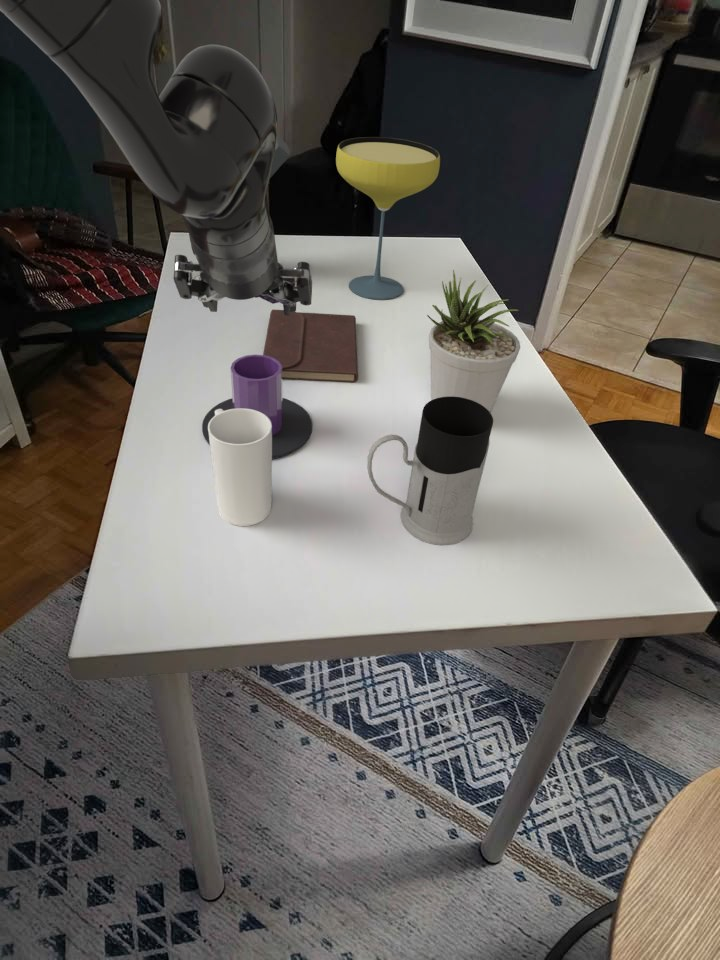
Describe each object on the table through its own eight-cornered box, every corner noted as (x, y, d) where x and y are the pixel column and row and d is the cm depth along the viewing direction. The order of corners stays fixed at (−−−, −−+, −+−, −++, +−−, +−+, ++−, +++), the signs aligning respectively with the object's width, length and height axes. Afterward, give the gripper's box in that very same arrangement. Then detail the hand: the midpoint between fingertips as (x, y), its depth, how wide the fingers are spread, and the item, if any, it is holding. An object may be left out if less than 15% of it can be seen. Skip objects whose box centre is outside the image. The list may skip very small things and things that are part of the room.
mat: (215, 469, 82) (214, 466, 81) (193, 405, 92) (192, 402, 92) (327, 449, 87) (327, 446, 86) (294, 390, 97) (294, 388, 97)
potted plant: (475, 378, 104) (502, 255, 91) (517, 427, 94) (554, 297, 81) (403, 386, 100) (420, 260, 87) (438, 438, 90) (463, 304, 77)
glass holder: (486, 536, 76) (515, 433, 66) (374, 562, 72) (387, 455, 62) (452, 489, 82) (474, 388, 72) (347, 510, 78) (356, 406, 68)
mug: (284, 515, 76) (283, 433, 68) (232, 536, 73) (225, 452, 65) (244, 468, 82) (240, 388, 75) (195, 485, 79) (185, 403, 71)
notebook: (355, 323, 115) (356, 313, 114) (357, 382, 100) (358, 371, 99) (270, 319, 114) (270, 308, 113) (260, 378, 99) (259, 366, 98)
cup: (240, 441, 86) (237, 383, 80) (229, 414, 90) (225, 357, 84) (288, 433, 88) (288, 376, 82) (275, 407, 92) (274, 351, 86)
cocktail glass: (341, 264, 135) (349, 132, 119) (427, 277, 133) (446, 144, 117) (320, 299, 121) (325, 155, 105) (414, 314, 119) (434, 170, 103)
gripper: (313, 210, 61) (312, 278, 77) (158, 200, 60) (191, 271, 76) (310, 287, 60) (310, 340, 76) (154, 278, 59) (187, 333, 75)
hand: (251, 305), depth 76 cm, fingers open, 8 cm apart
